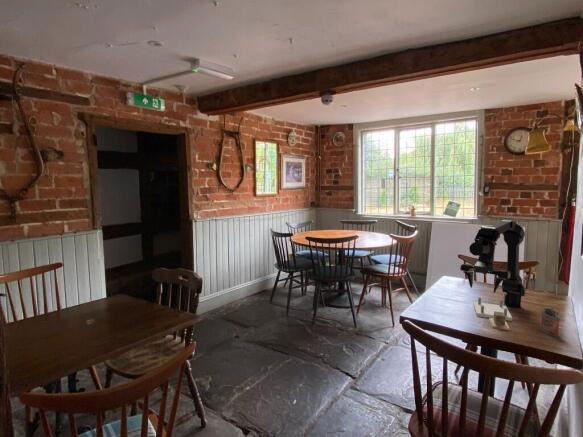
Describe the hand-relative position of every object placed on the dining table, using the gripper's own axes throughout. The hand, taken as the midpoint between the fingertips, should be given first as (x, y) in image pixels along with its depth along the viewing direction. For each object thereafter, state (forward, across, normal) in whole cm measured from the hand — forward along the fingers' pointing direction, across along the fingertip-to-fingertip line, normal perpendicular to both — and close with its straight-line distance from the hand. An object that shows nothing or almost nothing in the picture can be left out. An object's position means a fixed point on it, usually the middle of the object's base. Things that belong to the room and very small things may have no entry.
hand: (482, 290), depth 155 cm
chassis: (+12, +2, +16) cm, 20 cm away
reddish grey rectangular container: (+13, +24, +8) cm, 29 cm away
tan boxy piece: (+14, +8, +2) cm, 16 cm away
